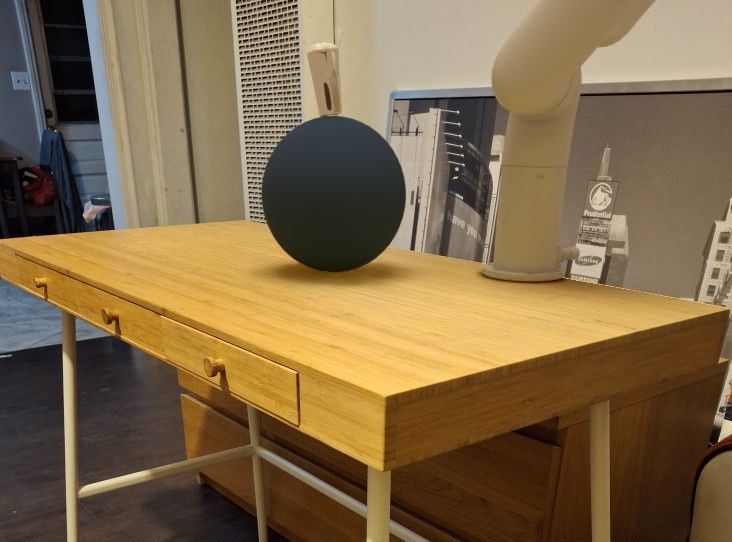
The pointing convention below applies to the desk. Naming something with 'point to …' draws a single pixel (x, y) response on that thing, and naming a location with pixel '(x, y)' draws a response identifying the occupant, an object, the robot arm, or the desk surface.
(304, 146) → the ball
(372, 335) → the desk surface
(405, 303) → the desk surface
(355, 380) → the desk surface
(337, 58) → the milkshake
